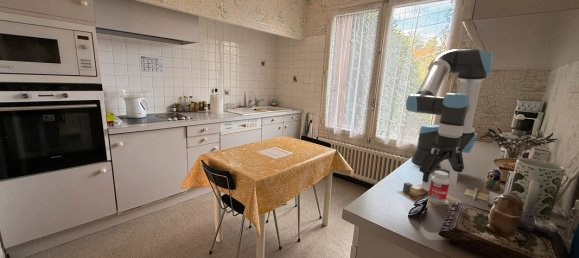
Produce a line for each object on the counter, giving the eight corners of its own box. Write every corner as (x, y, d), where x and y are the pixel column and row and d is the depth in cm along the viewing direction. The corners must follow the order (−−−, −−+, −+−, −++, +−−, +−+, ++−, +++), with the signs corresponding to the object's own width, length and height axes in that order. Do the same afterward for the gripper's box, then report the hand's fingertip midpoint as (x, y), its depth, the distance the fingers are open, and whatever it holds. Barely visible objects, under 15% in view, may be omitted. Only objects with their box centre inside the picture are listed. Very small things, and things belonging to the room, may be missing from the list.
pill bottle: (428, 200, 91) (433, 173, 89) (426, 193, 97) (431, 168, 94) (446, 204, 89) (452, 177, 86) (444, 197, 94) (449, 171, 92)
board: (431, 189, 105) (433, 179, 104) (461, 205, 92) (464, 194, 91) (395, 194, 98) (396, 183, 97) (422, 211, 86) (424, 199, 85)
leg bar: (431, 188, 102) (432, 180, 101) (439, 191, 99) (441, 183, 98) (408, 192, 96) (409, 184, 95) (415, 196, 93) (417, 188, 92)
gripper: (463, 132, 95) (452, 180, 99) (414, 133, 87) (405, 186, 91) (483, 136, 88) (470, 188, 92) (432, 139, 80) (421, 195, 84)
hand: (438, 187), depth 92 cm, fingers open, 13 cm apart
